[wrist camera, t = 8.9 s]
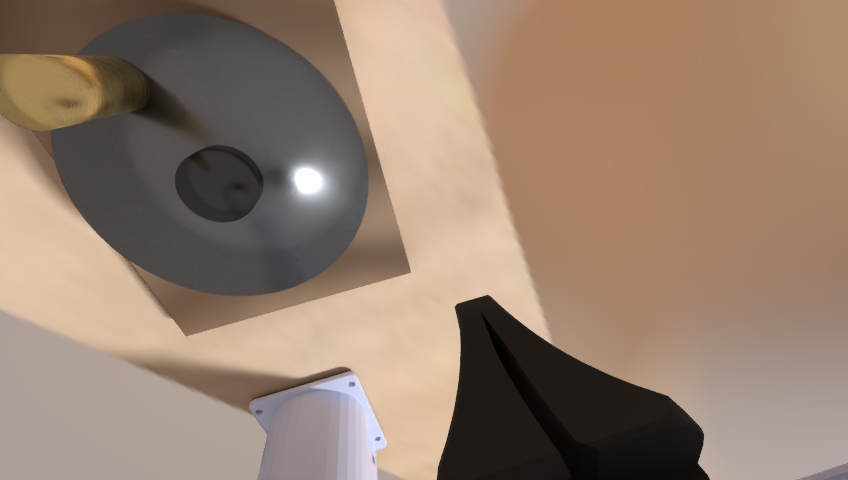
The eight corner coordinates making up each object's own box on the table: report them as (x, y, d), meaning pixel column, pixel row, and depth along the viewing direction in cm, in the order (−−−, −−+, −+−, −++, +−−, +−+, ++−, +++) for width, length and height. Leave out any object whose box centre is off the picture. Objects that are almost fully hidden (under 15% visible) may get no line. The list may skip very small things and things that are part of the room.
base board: (408, 262, 23) (410, 272, 22) (194, 323, 22) (185, 336, 21) (313, -72, 15) (310, -82, 14) (-32, 7, 14) (-64, 2, 13)
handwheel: (417, 192, 19) (438, 236, 14) (244, 323, 21) (211, 401, 16) (214, -65, 13) (132, -139, 8) (-4, 150, 15) (-175, 193, 10)
